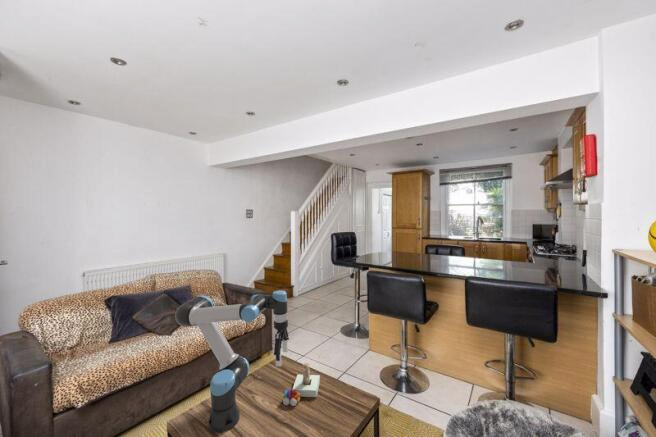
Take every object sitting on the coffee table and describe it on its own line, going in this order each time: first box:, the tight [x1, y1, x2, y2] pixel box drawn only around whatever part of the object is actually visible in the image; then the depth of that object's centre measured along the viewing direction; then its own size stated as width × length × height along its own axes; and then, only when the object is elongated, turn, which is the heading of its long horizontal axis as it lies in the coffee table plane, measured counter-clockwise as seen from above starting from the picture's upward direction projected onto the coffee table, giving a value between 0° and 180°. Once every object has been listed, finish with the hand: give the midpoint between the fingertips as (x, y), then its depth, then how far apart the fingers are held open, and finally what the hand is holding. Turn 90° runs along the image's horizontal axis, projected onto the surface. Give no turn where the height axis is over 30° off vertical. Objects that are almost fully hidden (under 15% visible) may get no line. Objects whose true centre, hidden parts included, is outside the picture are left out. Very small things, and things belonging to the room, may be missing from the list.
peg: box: [302, 362, 311, 385], centre depth 164 cm, size 4×4×14 cm
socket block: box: [291, 374, 321, 398], centre depth 164 cm, size 14×14×4 cm
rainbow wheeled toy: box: [282, 387, 301, 407], centre depth 153 cm, size 8×10×7 cm
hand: (282, 358), depth 149 cm, fingers open, 13 cm apart
